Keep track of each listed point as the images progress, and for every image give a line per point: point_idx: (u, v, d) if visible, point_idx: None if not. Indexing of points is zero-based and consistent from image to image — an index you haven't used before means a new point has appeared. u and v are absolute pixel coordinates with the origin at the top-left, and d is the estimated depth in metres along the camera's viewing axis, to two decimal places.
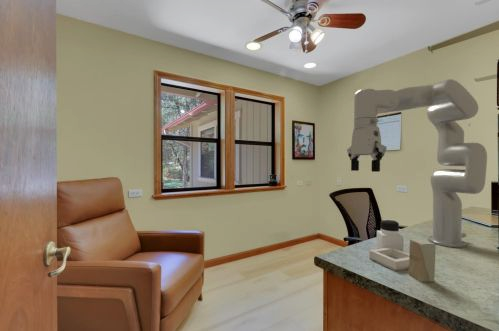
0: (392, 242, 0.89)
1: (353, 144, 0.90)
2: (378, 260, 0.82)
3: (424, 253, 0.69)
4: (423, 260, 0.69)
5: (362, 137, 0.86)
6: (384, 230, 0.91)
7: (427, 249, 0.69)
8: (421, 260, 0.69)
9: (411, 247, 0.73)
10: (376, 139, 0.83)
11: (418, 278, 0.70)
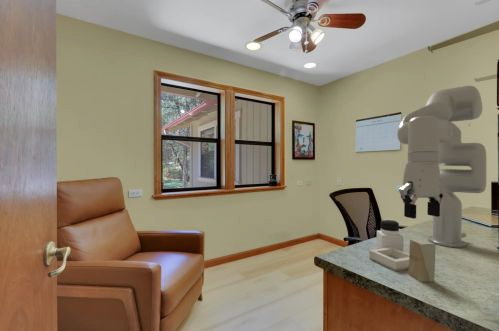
0: (392, 242, 0.89)
1: (422, 183, 0.68)
2: (378, 260, 0.82)
3: (424, 253, 0.69)
4: (423, 260, 0.69)
5: (434, 176, 0.69)
6: (384, 230, 0.91)
7: (427, 249, 0.69)
8: (421, 260, 0.69)
9: (411, 247, 0.73)
10: None
11: (418, 278, 0.70)
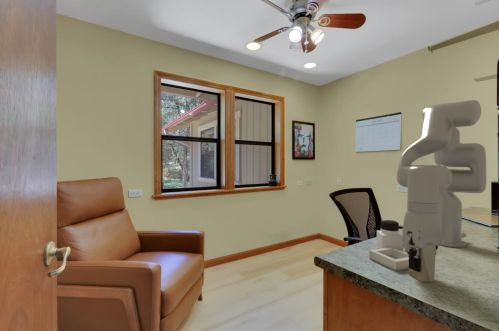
0: (392, 242, 0.89)
1: (421, 235, 0.68)
2: (378, 260, 0.82)
3: (424, 253, 0.69)
4: (423, 259, 0.69)
5: (433, 226, 0.69)
6: (384, 230, 0.91)
7: (427, 249, 0.69)
8: (421, 260, 0.69)
9: None
10: None
11: (418, 278, 0.70)
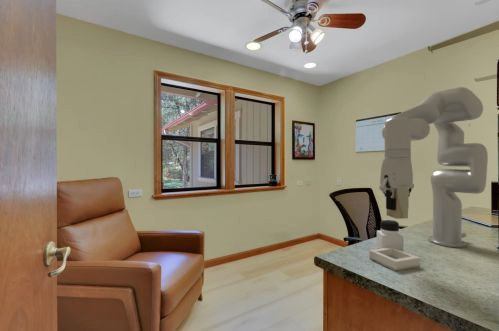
0: (392, 242, 0.89)
1: (396, 177, 0.78)
2: (378, 260, 0.82)
3: (398, 193, 0.78)
4: (398, 199, 0.79)
5: (406, 170, 0.79)
6: (384, 230, 0.91)
7: (401, 190, 0.78)
8: (396, 199, 0.79)
9: None
10: None
11: (394, 216, 0.80)
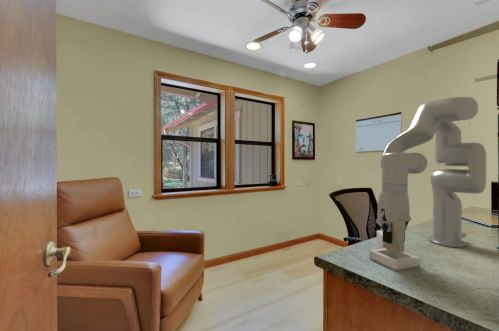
0: None
1: (392, 211, 0.79)
2: (378, 260, 0.82)
3: (395, 227, 0.80)
4: (394, 233, 0.80)
5: (403, 204, 0.80)
6: None
7: (398, 224, 0.80)
8: (392, 233, 0.80)
9: None
10: None
11: (390, 249, 0.81)
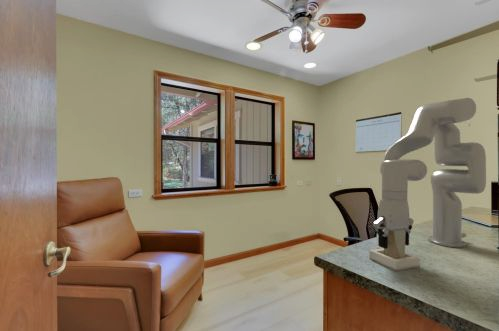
0: None
1: (392, 219, 0.79)
2: (378, 260, 0.82)
3: (396, 238, 0.80)
4: (395, 243, 0.80)
5: (403, 211, 0.80)
6: None
7: (398, 234, 0.80)
8: (393, 244, 0.80)
9: None
10: None
11: None
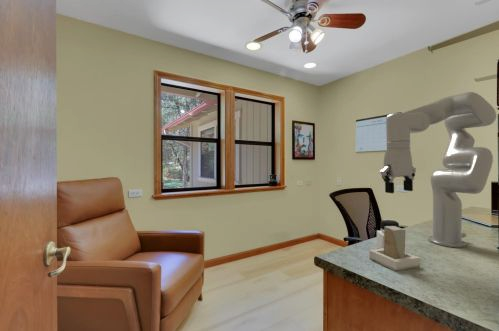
0: None
1: (397, 166, 0.87)
2: (378, 260, 0.82)
3: (396, 238, 0.80)
4: (395, 243, 0.80)
5: (407, 159, 0.89)
6: None
7: (398, 234, 0.80)
8: (393, 244, 0.80)
9: (385, 233, 0.84)
10: None
11: None
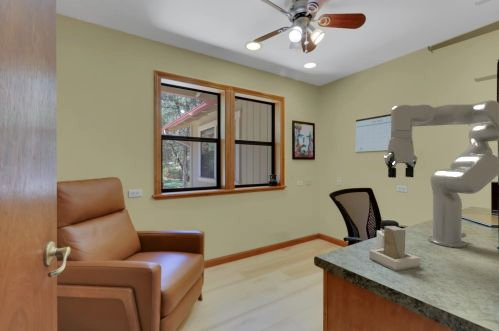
0: None
1: (400, 153, 0.96)
2: (378, 260, 0.82)
3: (396, 238, 0.80)
4: (395, 243, 0.80)
5: (409, 147, 0.97)
6: None
7: (398, 234, 0.80)
8: (393, 244, 0.80)
9: (385, 233, 0.84)
10: None
11: None
